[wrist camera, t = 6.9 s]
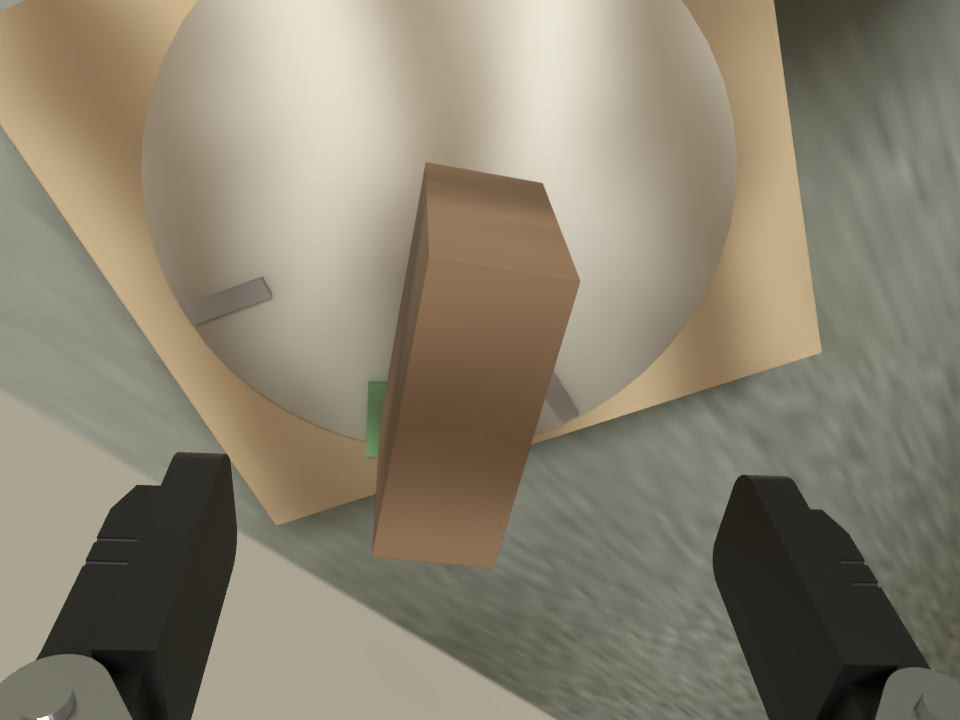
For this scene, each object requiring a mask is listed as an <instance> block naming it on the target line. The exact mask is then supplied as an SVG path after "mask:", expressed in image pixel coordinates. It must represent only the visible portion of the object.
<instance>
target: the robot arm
mask: <svg viewBox="0 0 960 720" xmlns="http://www.w3.org/2000/svg"><path fill="white" fill-rule="evenodd" d="M236 545H237V523H236V513H235V503H234V493H233V482H232V472H231V463H230V458H229V456H228V455H227V454H215V453H188V452H177V453H176V454H175V455H174V457H173V459H172V461H171V463H170V465H169V468H168V470H167V472H166V475H165V477H164V479H163V482H162V484H161V486H153V485H136V486H135V487H134V488H133V489H132V490H131V491H130V492H129V493H128V494H126V495H125V496H124V497H123V498H122V499H121V500H120V501H119V502H118V503H117V504H115V506H113V507H112V508H111V509H110V511H109V513H108V515H107V517H106V519H105V521H104V524H103V526H102V528H101V530H100V532H99V534H98V536H97V542H94V544H93V546H92V548H91V550H90V552H89V554H88V556H87V558H86V564H85V566H83V567H82V569H81V571H80V573H79V575H78V577H77V579H76V581H75V583H74V585H73V587H72V589H71V591H70V593H69V595H68V597H67V600H66V601H65V603H64V606H63V608H62V610H61V612H60V614H59V616H58V618H57V620H56V622H55V624H54V626H53V628H52V630H51V632H50V634H49V636H48V638H47V640H46V643H45V644H44V647H43V649H42V651H41V653H40V654H39V656H38V657H37V659H36V661H34V662H32V663H29V664H27V665H25V666H24V667H22V668H20V669H18V670H17V671H15V672H14V673H12V674H11V675H9V676H8V677H7V678H6V679H5V680H3V681H2V682H1V683H0V720H191V717H192V714H193V710H194V707H195V703H196V699H197V696H198V692H199V689H200V685H201V681H202V678H203V674H204V670H205V667H206V663H207V660H208V656H209V652H210V649H211V645H212V642H213V638H214V634H215V631H216V627H217V624H218V620H219V616H220V613H221V609H222V606H223V602H224V599H225V595H226V591H227V588H228V584H229V581H230V577H231V573H232V570H233V566H234V561H235V554H236ZM713 570H714V576H715V580H716V583H717V586H718V588H719V591H720V594H721V596H722V599H723V601H724V604H725V607H726V609H727V612H728V614H729V617H730V619H731V622H732V625H733V627H734V630H735V632H736V635H737V638H738V640H739V643H740V645H741V648H742V651H743V653H744V656H745V658H746V661H747V664H748V666H749V669H750V671H751V674H752V677H753V679H754V682H755V684H756V687H757V689H758V692H759V695H760V697H761V700H762V702H763V705H764V708H765V710H766V713H767V715H768V718H769V720H960V682H958V681H956V680H954V679H953V678H951V677H949V676H947V675H944V674H942V673H940V672H937V671H934V670H931V669H930V667H929V666H928V664H927V662H926V661H925V659H924V657H923V656H922V654H921V652H920V651H919V649H918V647H917V646H916V644H915V642H914V641H913V639H912V638H911V636H910V634H909V633H908V631H907V629H906V628H905V626H904V624H903V623H902V621H901V619H900V618H899V616H898V614H897V613H896V611H895V610H894V608H893V606H892V605H891V603H890V601H889V600H888V598H887V596H886V595H885V593H884V591H883V590H882V588H878V585H877V583H878V581H877V580H876V578H875V577H874V575H873V573H872V572H871V570H870V568H869V567H868V565H865V564H864V558H863V557H862V555H861V553H860V552H859V550H858V548H857V547H856V545H855V544H854V542H853V540H852V539H851V537H850V535H849V534H848V533H847V532H846V531H845V530H844V529H843V528H842V527H841V526H839V525H838V524H837V523H836V522H835V521H834V520H833V519H832V518H831V517H829V516H828V515H827V514H826V513H825V512H824V511H823V510H814V509H810V508H809V507H808V505H807V503H806V501H805V500H804V498H803V496H802V494H801V493H800V491H799V489H798V487H797V486H796V484H795V482H794V481H793V480H792V479H791V478H789V477H786V476H760V475H741V476H740V477H738V479H737V480H736V482H735V484H734V487H733V490H732V493H731V496H730V498H729V501H728V504H727V507H726V510H725V513H724V516H723V519H722V522H721V525H720V528H719V531H718V534H717V537H716V540H715V543H714V548H713Z"/></svg>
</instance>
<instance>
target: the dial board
mask: <svg viewBox="0 0 960 720" xmlns="http://www.w3.org/2000/svg"><path fill="white" fill-rule="evenodd" d="M0 124H1V126H2V127H3V129H4V130H5V132H6V133H7V134H8V136H9V137H10V139H11V140H12V142H13V143H14V145H15V146H16V148H17V149H18V150H19V152H20V153H21V155H22V156H23V158H24V159H25V161H26V162H27V164H28V165H29V167H30V168H31V169H32V171H33V172H34V174H35V175H36V177H37V178H38V180H39V181H40V183H41V184H42V185H43V187H44V188H45V190H46V191H47V193H48V194H49V196H50V197H51V199H52V200H53V201H54V203H55V204H56V206H57V207H58V209H59V210H60V212H61V213H62V215H63V216H64V217H65V219H66V220H67V222H68V223H69V225H70V226H71V228H72V229H73V231H74V232H75V234H76V235H77V236H78V238H79V239H80V241H81V242H82V244H83V245H84V247H85V248H86V250H87V251H88V252H89V254H90V255H91V257H92V258H93V260H94V261H95V263H96V264H97V266H98V267H99V268H100V270H101V271H102V273H103V274H104V276H105V277H106V279H107V280H108V282H109V283H110V284H111V286H112V287H113V289H114V290H115V292H116V293H117V295H118V296H119V298H120V299H121V301H122V302H123V303H124V305H125V306H126V308H127V309H128V311H129V312H130V314H131V315H132V317H133V318H134V319H135V321H136V322H137V324H138V325H139V327H140V328H141V330H142V331H143V333H144V334H145V335H146V337H147V338H148V340H149V341H150V343H151V344H152V346H153V347H154V349H155V350H156V351H157V353H158V354H159V356H160V357H161V359H162V360H163V362H164V363H165V365H166V366H167V368H168V369H169V370H170V372H171V373H172V375H173V376H174V378H175V379H176V381H177V382H178V384H179V385H180V386H181V388H182V389H183V391H184V392H185V394H186V395H187V397H188V398H189V400H190V401H191V402H192V404H193V405H194V407H195V408H196V410H197V411H198V413H199V414H200V416H201V417H202V419H203V420H204V421H205V423H206V424H207V426H208V427H209V429H210V430H211V432H212V433H213V435H214V436H215V437H216V439H217V440H218V442H219V443H220V445H221V446H222V448H223V449H224V451H225V452H226V453H227V455H228V456H229V458H230V459H231V461H232V462H233V464H234V465H235V467H236V468H237V469H238V471H239V472H240V474H241V475H242V477H243V478H244V480H245V481H246V483H247V484H248V486H249V487H250V488H251V490H252V491H253V493H254V494H255V496H256V497H257V499H258V500H259V502H260V503H261V504H262V506H263V507H264V509H265V510H266V512H267V513H268V515H269V516H270V518H271V519H272V520H273V522H274V523H275V525H276V526H277V525H280V524H283V523H286V522H290V521H293V520H296V519H299V518H302V517H305V516H308V515H312V514H315V513H318V512H321V511H324V510H327V509H330V508H334V507H337V506H340V505H343V504H346V503H349V502H352V501H356V500H359V499H362V498H365V497H368V496H371V495H375V494H376V481H377V465H378V448H379V431H380V418H381V412H382V406H383V401H384V395H385V389H386V384H387V378H388V372H389V367H390V361H391V355H392V350H393V344H394V338H395V333H396V327H397V321H398V316H399V310H400V304H401V299H402V293H403V287H404V282H405V276H406V270H407V265H408V259H409V253H410V248H411V242H412V236H413V231H414V225H415V219H416V214H417V208H418V202H419V197H420V191H421V185H422V180H423V174H424V168H425V163H426V162H429V163H434V164H440V165H445V166H451V167H457V168H462V169H468V170H473V171H479V172H484V173H490V174H496V175H501V176H507V177H512V178H518V179H523V180H529V181H535V182H540V183H543V185H544V188H545V190H546V193H547V195H548V198H549V201H550V203H551V206H552V208H553V211H554V214H555V216H556V219H557V221H558V224H559V227H560V229H561V232H562V234H563V237H564V240H565V242H566V245H567V247H568V250H569V253H570V255H571V258H572V260H573V263H574V266H575V268H576V271H577V273H578V276H579V278H580V281H581V282H580V285H579V288H578V292H577V295H576V298H575V301H574V305H573V308H572V311H571V315H570V318H569V321H568V325H567V328H566V331H565V334H564V338H563V341H562V344H561V348H560V351H559V354H558V357H557V361H556V364H555V367H554V371H553V374H552V377H551V381H550V384H549V387H548V390H547V394H546V397H545V400H544V404H543V407H542V410H541V413H540V417H539V420H538V423H537V427H536V430H535V433H534V437H533V440H532V443H531V445H532V444H535V443H538V442H541V441H544V440H548V439H551V438H554V437H557V436H560V435H563V434H566V433H570V432H573V431H576V430H579V429H582V428H585V427H588V426H592V425H595V424H598V423H601V422H604V421H607V420H610V419H614V418H617V417H620V416H623V415H626V414H629V413H632V412H636V411H639V410H642V409H645V408H648V407H651V406H655V405H658V404H661V403H664V402H667V401H670V400H673V399H677V398H680V397H683V396H686V395H689V394H692V393H695V392H699V391H702V390H705V389H708V388H711V387H714V386H717V385H721V384H724V383H727V382H730V381H733V380H736V379H739V378H743V377H746V376H749V375H752V374H755V373H758V372H761V371H765V370H768V369H771V368H774V367H777V366H780V365H783V364H787V363H790V362H793V361H796V360H799V359H802V358H806V357H809V356H812V355H815V354H818V353H821V352H822V351H821V344H820V337H819V329H818V322H817V315H816V307H815V300H814V293H813V285H812V278H811V270H810V263H809V256H808V248H807V241H806V234H805V226H804V219H803V212H802V204H801V197H800V189H799V182H798V175H797V167H796V160H795V153H794V145H793V138H792V131H791V123H790V116H789V109H788V101H787V94H786V86H785V79H784V72H783V64H782V57H781V50H780V42H779V35H778V28H777V20H776V13H775V5H774V0H26V1H24V2H21V3H19V4H17V5H14V6H12V7H10V8H7V9H5V10H2V11H0Z"/></svg>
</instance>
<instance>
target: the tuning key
mask: <svg viewBox="0 0 960 720" xmlns="http://www.w3.org/2000/svg"><path fill="white" fill-rule="evenodd" d="M580 282H581V281H580V278H579V276H578V273H577V271H576V268H575V266H574V263H573V260H572V258H571V255H570V253H569V250H568V247H567V245H566V242H565V240H564V237H563V234H562V232H561V229H560V227H559V224H558V221H557V219H556V216H555V214H554V211H553V208H552V206H551V203H550V201H549V198H548V195H547V193H546V190H545V188H544V185H543V183H540V182H535V181H529V180H523V179H518V178H512V177H507V176H501V175H496V174H490V173H484V172H479V171H473V170H468V169H462V168H457V167H451V166H445V165H440V164H434V163H429V162H426V163H425V168H424V174H423V180H422V185H421V191H420V197H419V202H418V208H417V214H416V219H415V225H414V231H413V236H412V242H411V248H410V253H409V259H408V265H407V270H406V276H405V282H404V287H403V293H402V299H401V304H400V310H399V316H398V321H397V327H396V333H395V338H394V344H393V350H392V355H391V361H390V367H389V372H388V378H387V384H386V389H385V395H384V401H383V406H382V412H381V418H380V431H379V448H378V465H377V481H376V498H375V515H374V532H373V549H372V557H382V558H393V559H403V560H414V561H424V562H435V563H445V564H456V565H466V566H477V567H487V568H494V565H495V562H496V558H497V555H498V552H499V549H500V545H501V542H502V539H503V535H504V532H505V529H506V526H507V522H508V519H509V516H510V512H511V509H512V506H513V502H514V499H515V496H516V493H517V489H518V486H519V483H520V479H521V476H522V473H523V470H524V466H525V463H526V460H527V456H528V453H529V450H530V446H531V443H532V440H533V437H534V433H535V430H536V427H537V423H538V420H539V417H540V413H541V410H542V407H543V404H544V400H545V397H546V394H547V390H548V387H549V384H550V381H551V377H552V374H553V371H554V367H555V364H556V361H557V357H558V354H559V351H560V348H561V344H562V341H563V338H564V334H565V331H566V328H567V325H568V321H569V318H570V315H571V311H572V308H573V305H574V301H575V298H576V295H577V292H578V288H579V285H580Z"/></svg>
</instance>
